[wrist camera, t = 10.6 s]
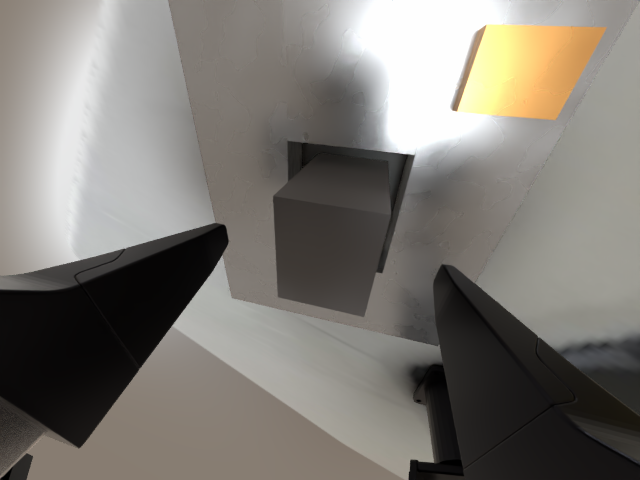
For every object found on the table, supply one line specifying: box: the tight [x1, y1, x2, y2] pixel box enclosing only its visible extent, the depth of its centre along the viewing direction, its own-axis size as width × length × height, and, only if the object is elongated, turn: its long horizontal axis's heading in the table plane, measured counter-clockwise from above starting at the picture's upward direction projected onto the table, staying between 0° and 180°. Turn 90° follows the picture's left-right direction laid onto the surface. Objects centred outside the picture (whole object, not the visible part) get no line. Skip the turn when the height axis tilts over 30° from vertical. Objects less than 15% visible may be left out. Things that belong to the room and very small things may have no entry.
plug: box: [273, 153, 391, 317], centre depth 12 cm, size 5×4×7 cm
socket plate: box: [168, 0, 640, 346], centre depth 13 cm, size 18×16×3 cm
